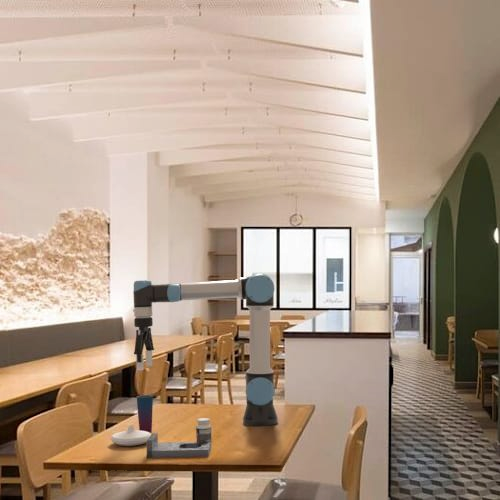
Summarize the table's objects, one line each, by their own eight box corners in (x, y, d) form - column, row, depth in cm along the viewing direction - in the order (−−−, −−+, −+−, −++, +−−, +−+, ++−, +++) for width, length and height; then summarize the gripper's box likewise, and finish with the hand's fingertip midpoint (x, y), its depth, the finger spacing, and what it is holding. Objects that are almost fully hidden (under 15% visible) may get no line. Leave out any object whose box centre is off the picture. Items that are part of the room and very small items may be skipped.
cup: (150, 434, 298) (149, 397, 298) (135, 433, 299) (134, 397, 300) (156, 430, 305) (155, 394, 305) (140, 430, 306) (139, 394, 306)
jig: (211, 447, 270) (210, 431, 270) (208, 456, 257) (207, 439, 257) (152, 449, 270) (152, 433, 270) (146, 458, 257) (146, 441, 257)
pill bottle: (196, 444, 277) (195, 418, 277) (211, 443, 277) (210, 417, 278) (196, 447, 271) (196, 421, 272) (212, 446, 272) (211, 420, 272)
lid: (116, 450, 271) (115, 431, 271) (106, 442, 285) (106, 424, 285) (156, 445, 277) (156, 427, 277) (145, 438, 291) (145, 420, 292)
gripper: (142, 315, 315) (144, 364, 314) (125, 319, 290) (127, 372, 289) (159, 315, 314) (161, 364, 313) (143, 318, 289) (145, 371, 288)
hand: (144, 368), depth 301 cm, fingers open, 13 cm apart
